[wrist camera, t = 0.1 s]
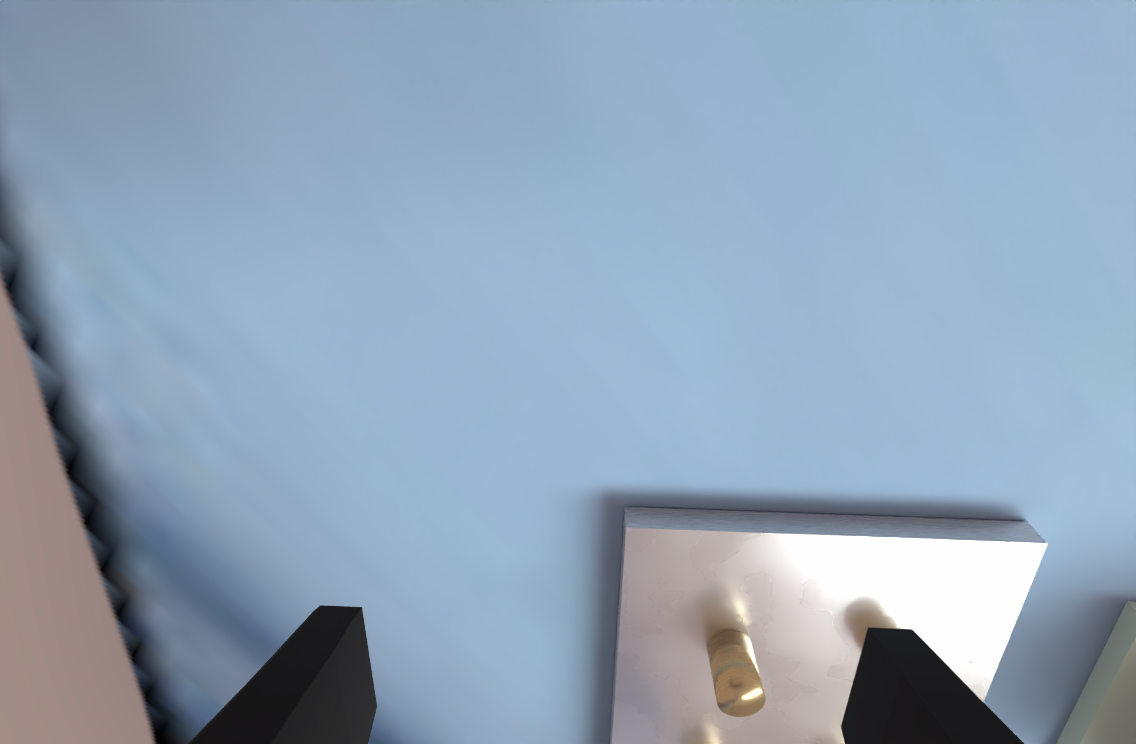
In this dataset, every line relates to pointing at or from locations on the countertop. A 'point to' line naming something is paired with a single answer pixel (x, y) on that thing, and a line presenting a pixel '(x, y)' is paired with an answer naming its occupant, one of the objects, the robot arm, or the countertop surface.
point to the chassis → (797, 615)
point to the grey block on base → (1109, 691)
